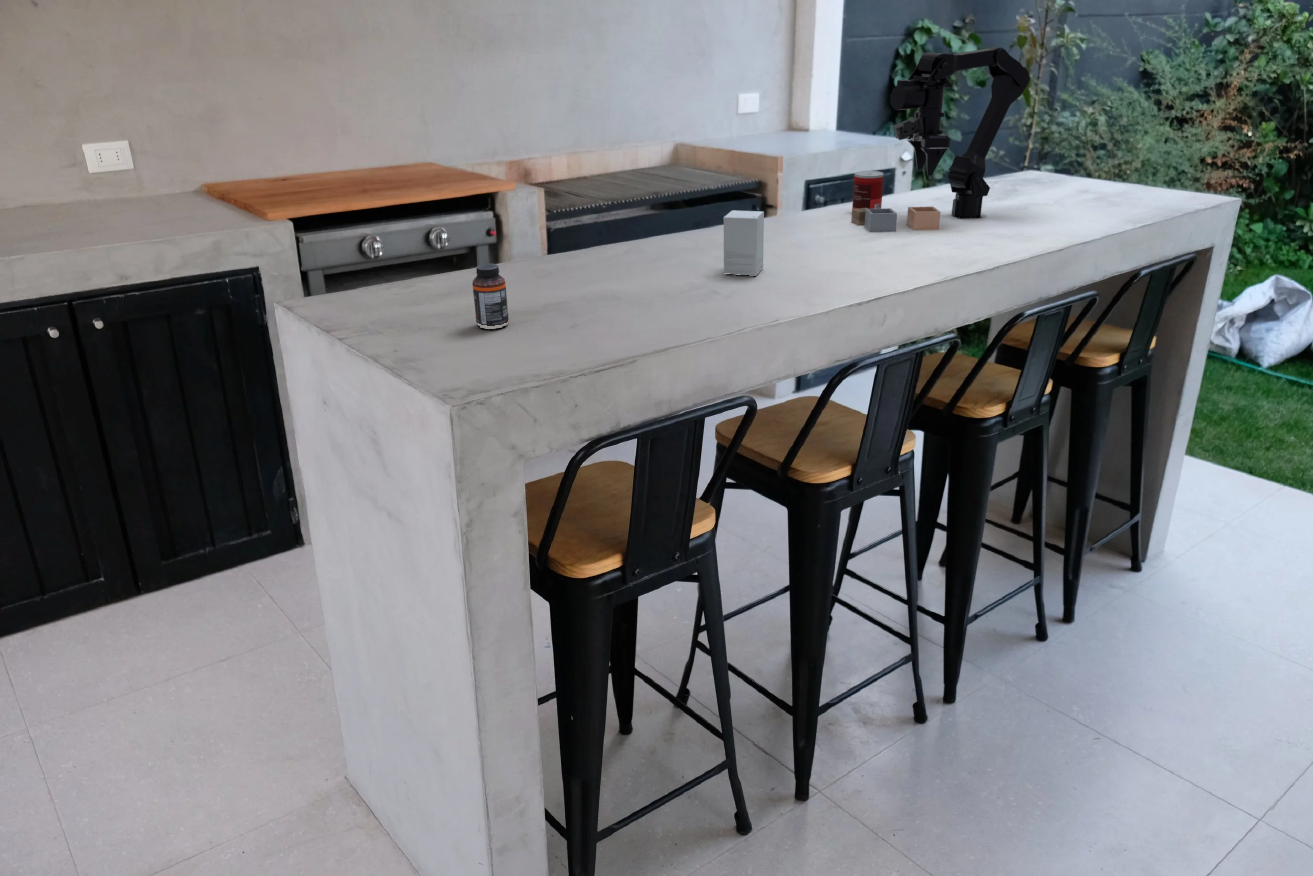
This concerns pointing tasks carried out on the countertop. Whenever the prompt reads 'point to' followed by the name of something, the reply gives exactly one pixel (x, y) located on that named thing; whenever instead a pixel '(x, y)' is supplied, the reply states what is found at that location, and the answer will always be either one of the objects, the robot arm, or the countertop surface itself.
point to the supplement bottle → (490, 296)
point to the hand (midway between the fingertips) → (924, 172)
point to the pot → (923, 218)
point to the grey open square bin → (880, 220)
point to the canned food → (868, 190)
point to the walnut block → (858, 216)
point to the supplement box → (743, 242)
